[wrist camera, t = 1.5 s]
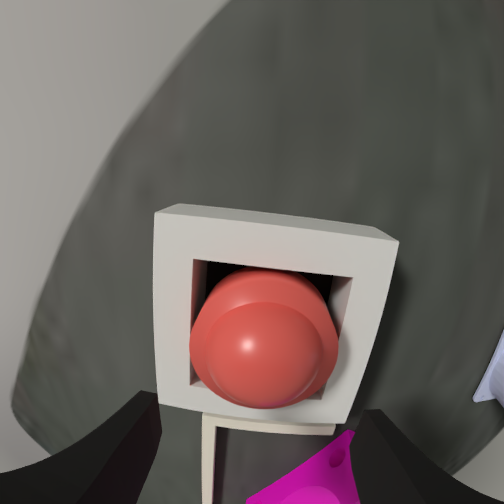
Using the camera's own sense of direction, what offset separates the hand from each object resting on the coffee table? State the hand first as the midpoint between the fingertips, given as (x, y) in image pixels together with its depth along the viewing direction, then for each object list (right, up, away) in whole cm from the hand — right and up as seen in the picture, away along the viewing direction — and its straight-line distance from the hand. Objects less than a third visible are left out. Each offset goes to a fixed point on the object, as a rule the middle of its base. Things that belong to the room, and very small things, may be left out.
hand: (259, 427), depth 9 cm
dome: (+1, +2, +8) cm, 8 cm away
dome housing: (+1, +3, +10) cm, 10 cm away
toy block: (+6, -16, +15) cm, 23 cm away
